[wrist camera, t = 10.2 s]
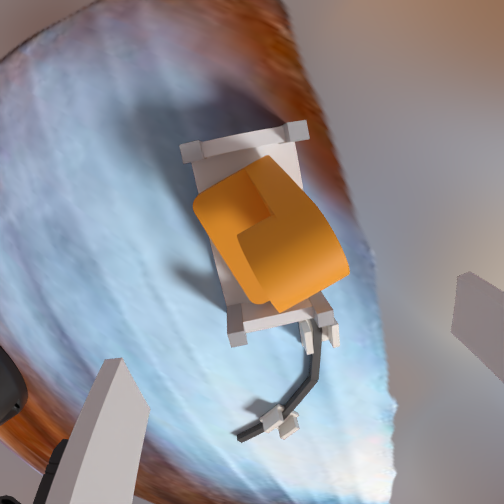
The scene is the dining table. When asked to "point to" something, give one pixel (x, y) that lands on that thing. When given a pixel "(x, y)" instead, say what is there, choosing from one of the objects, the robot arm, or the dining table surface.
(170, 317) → the dining table surface
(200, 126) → the dining table surface
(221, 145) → the holder
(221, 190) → the bracket
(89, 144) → the dining table surface
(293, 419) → the cable route
